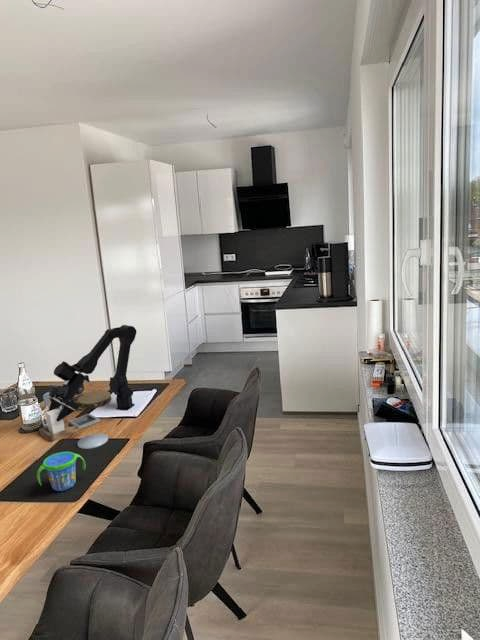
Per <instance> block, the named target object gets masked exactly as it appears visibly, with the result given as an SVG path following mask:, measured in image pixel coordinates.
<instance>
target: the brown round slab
mask: <svg viewBox="0 0 480 640" xmlns="http://www.w3.org/2000/svg"><path fill="white" fill-rule="evenodd" d="M111 401H112V393H111V392H110V391H107V390H98V391H97V390H96V391H90V392H88V393H83V394H81V395H79V396H78V398H77V403H78V404H79V405H80V407H79V408H80V409H96V408H100V407H103V406H106V405H107V404H109V403H111Z"/></svg>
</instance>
